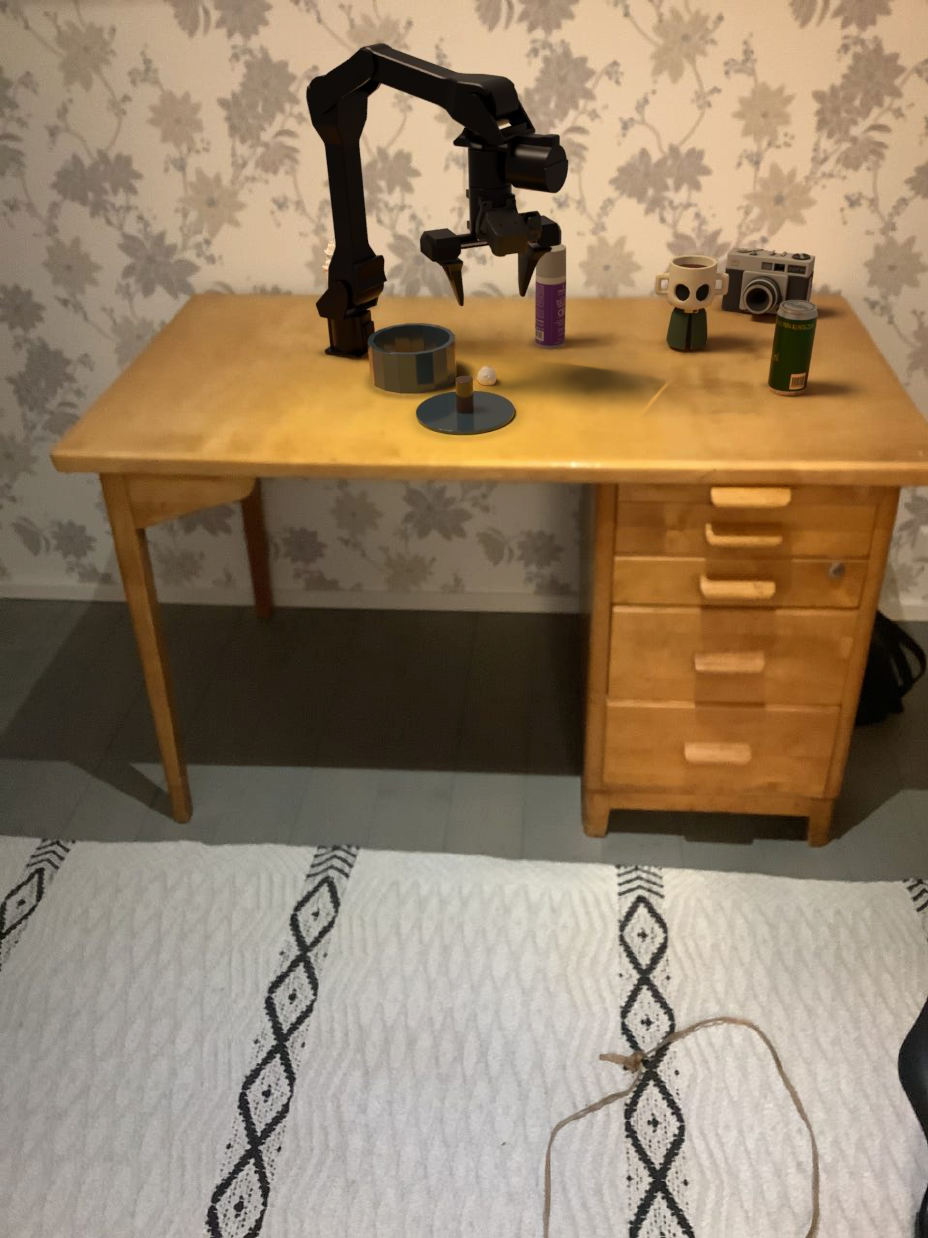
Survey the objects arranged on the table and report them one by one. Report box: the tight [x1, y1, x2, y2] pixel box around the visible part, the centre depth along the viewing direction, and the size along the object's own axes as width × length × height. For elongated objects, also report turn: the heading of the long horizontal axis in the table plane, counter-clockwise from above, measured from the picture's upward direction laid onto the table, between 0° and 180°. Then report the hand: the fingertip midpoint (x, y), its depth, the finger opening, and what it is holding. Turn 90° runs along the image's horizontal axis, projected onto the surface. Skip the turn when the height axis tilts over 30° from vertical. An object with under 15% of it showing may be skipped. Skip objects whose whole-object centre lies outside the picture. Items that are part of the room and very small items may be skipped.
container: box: [534, 243, 567, 350], centre depth 168 cm, size 5×5×15 cm
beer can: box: [767, 300, 819, 397], centre depth 151 cm, size 5×5×12 cm
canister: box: [367, 322, 458, 395], centre depth 160 cm, size 13×13×6 cm
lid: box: [415, 375, 516, 436], centre depth 149 cm, size 14×14×6 cm
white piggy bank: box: [476, 365, 497, 386], centre depth 158 cm, size 3×3×3 cm
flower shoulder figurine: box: [322, 235, 335, 283], centre depth 185 cm, size 9×4×12 cm, turn 171°
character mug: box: [653, 254, 729, 350], centre depth 166 cm, size 11×7×13 cm, turn 84°
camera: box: [721, 247, 816, 318], centre depth 177 cm, size 14×9×10 cm, turn 55°
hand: (491, 300), depth 153 cm, fingers open, 9 cm apart
